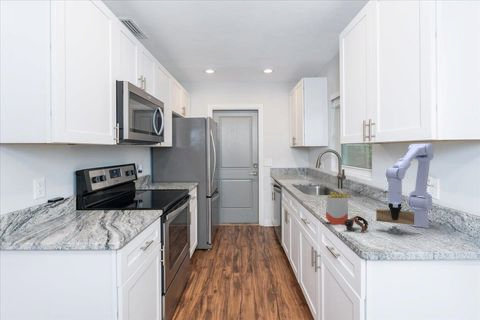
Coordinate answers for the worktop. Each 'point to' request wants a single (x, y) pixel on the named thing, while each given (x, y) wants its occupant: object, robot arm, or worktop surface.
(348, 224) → the dark brown curved piece
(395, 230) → the fulcrum
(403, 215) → the batten
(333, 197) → the french fries container
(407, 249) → the worktop surface
